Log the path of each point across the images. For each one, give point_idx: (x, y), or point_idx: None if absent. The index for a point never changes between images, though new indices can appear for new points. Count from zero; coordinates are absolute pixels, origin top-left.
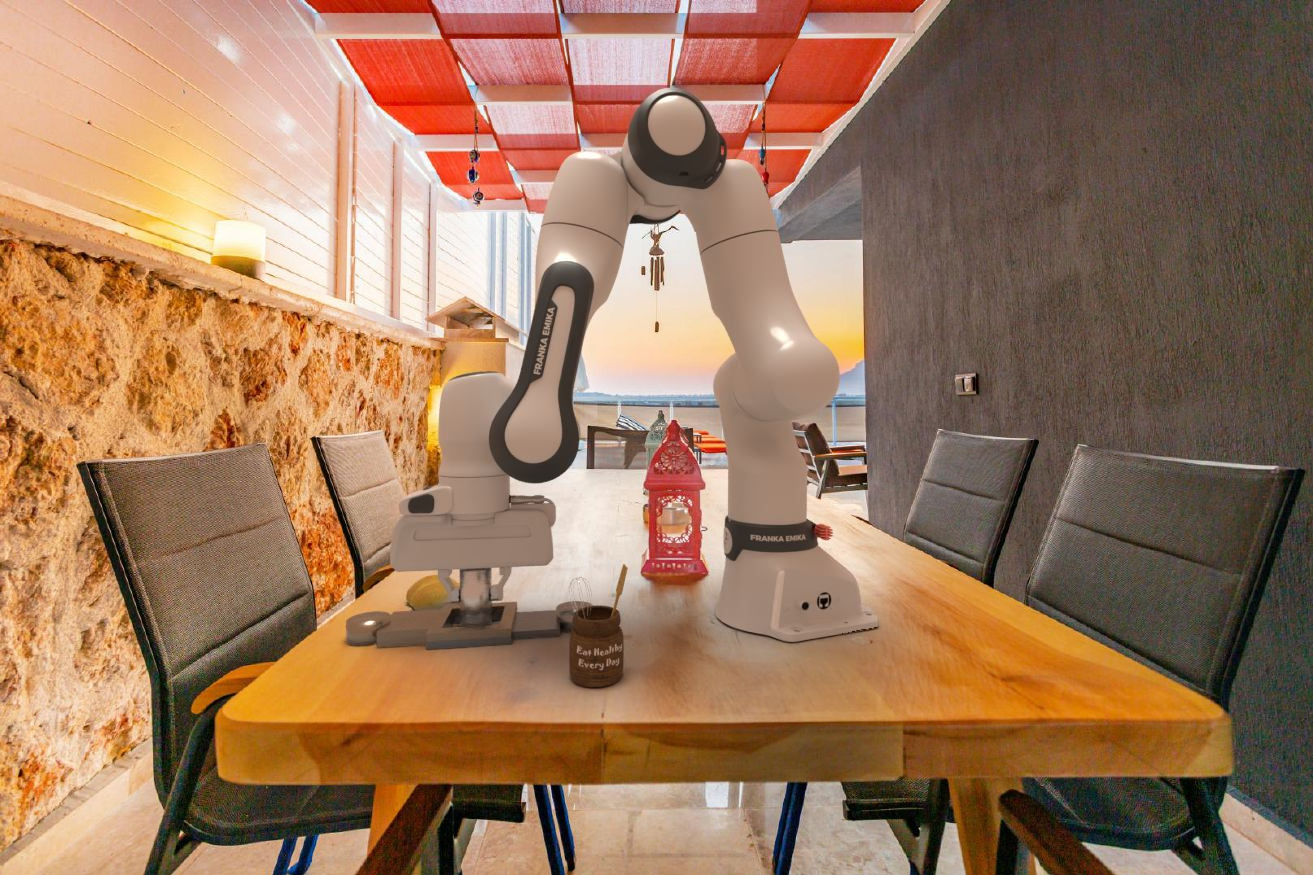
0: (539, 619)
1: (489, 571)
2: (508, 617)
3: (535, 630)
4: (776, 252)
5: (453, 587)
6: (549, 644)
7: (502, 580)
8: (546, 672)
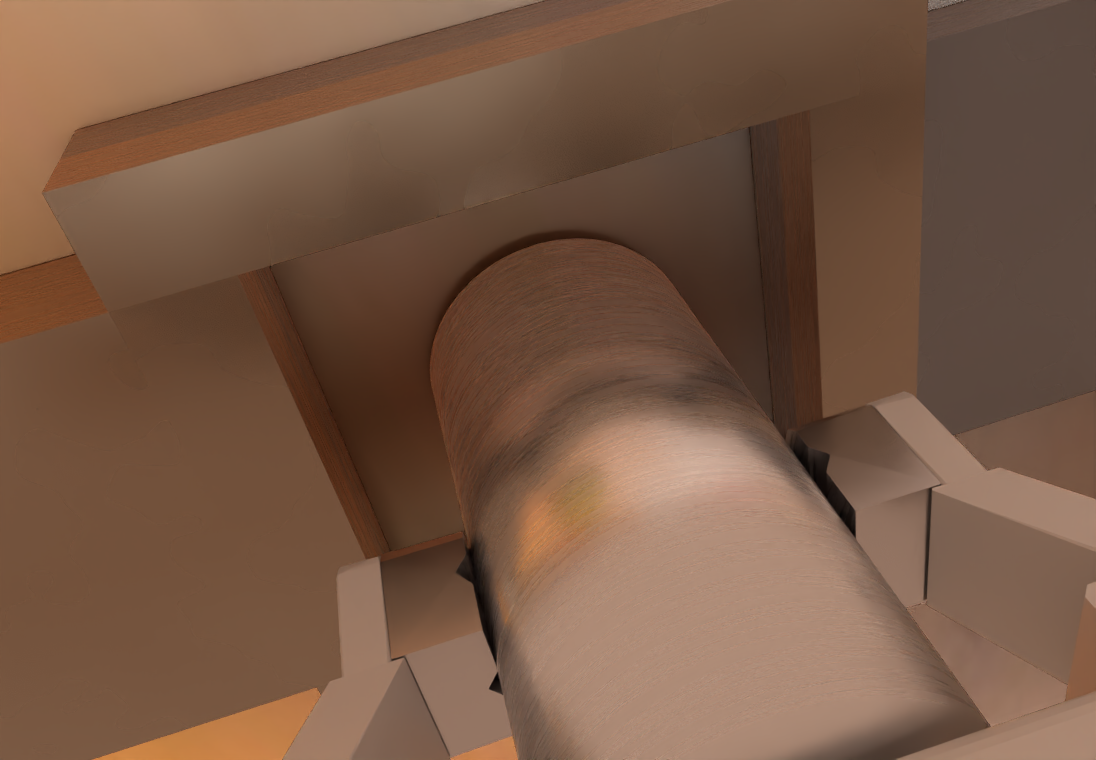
0: (1085, 212)
1: None
2: (875, 389)
3: (1036, 407)
4: None
5: (422, 706)
6: (1076, 439)
7: (1040, 657)
8: (1031, 677)
